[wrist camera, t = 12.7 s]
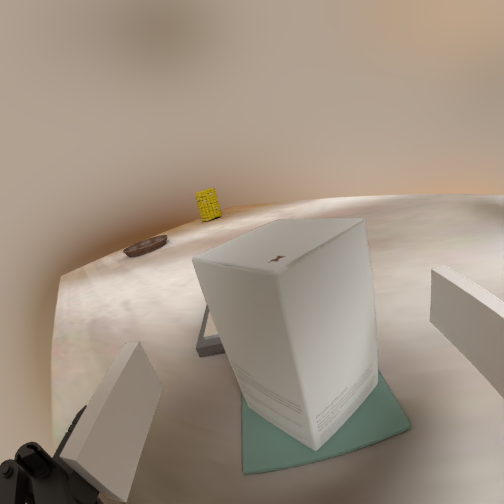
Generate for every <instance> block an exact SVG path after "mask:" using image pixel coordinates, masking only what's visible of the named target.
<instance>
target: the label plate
mask: <svg viewBox="0 0 504 504" xmlns="http://www.w3.org/2000/svg"><path fill="white" fill-rule="evenodd" d="M196 349H197V352H198V354H199V356H200V357H203V356H209V355H214V354H219V353H224V352H225V349H224V347H223V344H222V342H221V339H220V337H219V334H218V332H217V329H216V327H215V324H214V321H213V319H212V316H211V313H210V311H209V308H208V305H207V306H206V310H205V314H204V318H203V322H202V326H201V330H200V334H199V338H198V342H197V346H196Z"/></svg>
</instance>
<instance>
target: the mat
mask: <svg viewBox="0 0 504 504" xmlns="http://www.w3.org/2000/svg"><path fill="white" fill-rule="evenodd" d="M410 428H411V424H410V422H409V421H408V419H407V417H406V415H405V414H404V412H403V410H402V408H401V407H400V405H399V403H398V402H397V400H396V398H395V397H394V395H393V393H392V391H391V390H390V388H389V386H388V385H387V383H386V382H385V380H384V378H383V377H382V375H381V373H380V372H379V370H378V384H377V385H376V387H375V388H374V389H373V391H372V392H371V393H370V395H369V396H368V397H367V398H366V399H365V401H364V402H363V403H362V404H361V405H360V406H359V408H358V409H357V410H356V411H355V412H354V413H353V414H352V416H351V417H350V418H349V419H348V420H347V421H346V422H345V423H344V424H343V425H342V426H341V427H340V428H339V429H338V430H337V432H336V433H335V434H334V435H333V436H332V437H331V438H330V439H329V440H328V441H327V442H326V443H325V444H324V445H323V446H321V447H320V448H319V449H318V450H317V451H314V450H312V449H311V448H309V447H307V446H306V445H304V444H302V443H301V442H299V441H298V440H296V439H294V438H293V437H291V436H290V435H288V434H286V433H285V432H283V431H282V430H280V429H279V428H277V427H276V426H274V425H273V424H271V423H270V422H268V421H267V420H266V419H264V418H263V417H261V416H260V415H258V414H257V413H256V412H254V411H253V410H252V409H250V408H249V407H248V405H247V403H246V400H245V398H244V396H243V393H242V456H243V473H244V475H247V474H255V473H262V472H268V471H274V470H280V469H286V468H291V467H296V466H300V465H305V464H309V463H313V462H317V461H321V460H325V459H328V458H332V457H336V456H339V455H342V454H346V453H349V452H352V451H355V450H358V449H361V448H364V447H366V446H369V445H372V444H375V443H377V442H380V441H382V440H385V439H388V438H390V437H392V436H395V435H397V434H399V433H402V432H404V431H406V430H408V429H410Z"/></svg>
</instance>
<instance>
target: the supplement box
mask: <svg viewBox="0 0 504 504" xmlns="http://www.w3.org/2000/svg"><path fill="white" fill-rule="evenodd" d="M192 262H193V265H194V268H195V271H196V274H197V277H198V280H199V283H200V286H201V289H202V292H203V294H204V297H205V300H206V303H207V305H208V308H209V311H210V313H211V316H212V319H213V321H214V324H215V327H216V329H217V332H218V334H219V337H220V339H221V342H222V344H223V347H224V349H225V352H226V354H227V357H228V359H229V362H230V364H231V367H232V369H233V372H234V374H235V376H236V379H237V381H238V384H239V386H240V389H241V391H242V393H243V396H244V398H245V400H246V403H247V405H248V407H249V408H250V409H252V410H253V411H254V412H256V413H257V414H258V415H260V416H261V417H263V418H264V419H266V420H267V421H268V422H270V423H271V424H273V425H274V426H276V427H277V428H279V429H280V430H282V431H283V432H285V433H286V434H288V435H290V436H291V437H293V438H294V439H296V440H298V441H299V442H301V443H302V444H304V445H306V446H307V447H309V448H311V449H312V450H314V451H317V450H318V449H319V448H320V447H321V446H323V445H324V444H325V443H326V442H327V441H328V440H329V439H330V438H331V437H332V436H333V435H334V434H335V433H336V432H337V430H338V429H339V428H340V427H341V426H342V425H343V424H344V423H345V422H346V421H347V420H348V419H349V418H350V417H351V416H352V414H353V413H354V412H355V411H356V410H357V409H358V408H359V406H360V405H361V404H362V403H363V402H364V401H365V399H366V398H367V397H368V396H369V395H370V393H371V392H372V391H373V389H374V388H375V387H376V385H377V384H378V350H377V326H376V311H375V297H374V287H373V277H372V268H371V261H370V253H369V246H368V239H367V232H366V226H365V220H364V218H324V219H278V220H275V221H273V222H270V223H268V224H265V225H263V226H261V227H258V228H256V229H254V230H251V231H249V232H247V233H245V234H242V235H240V236H238V237H236V238H234V239H231V240H229V241H227V242H225V243H223V244H221V245H218V246H216V247H214V248H212V249H210V250H208V251H205V252H203V253H201V254H199V255H197V256H195V257H193V258H192Z"/></svg>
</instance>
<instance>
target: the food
mask: <svg viewBox="0 0 504 504" xmlns="http://www.w3.org/2000/svg"><path fill="white" fill-rule="evenodd" d="M195 196H196V201H197V204H198V209H199V211H200V215H201V218H202V221H204V222H205V221H207V222H208V221H209V220H211V219H214V218H215V217H221V212H220V207H219V203H218V200H217V196H216V193H215V189H214V188H208V189H207V190H204V191H199V192H196V193H195Z"/></svg>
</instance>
